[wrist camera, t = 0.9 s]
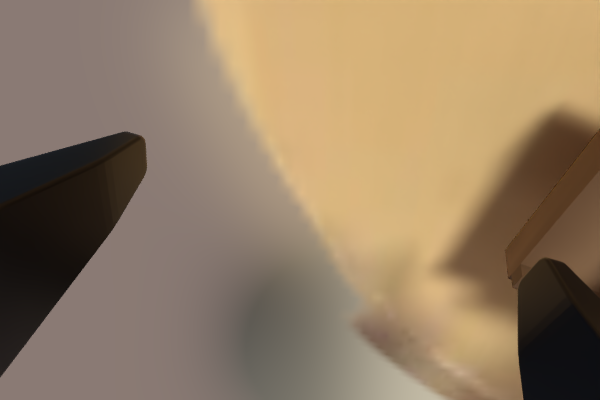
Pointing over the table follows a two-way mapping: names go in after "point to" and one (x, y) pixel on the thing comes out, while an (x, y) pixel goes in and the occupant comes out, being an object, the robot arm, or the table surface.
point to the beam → (565, 224)
